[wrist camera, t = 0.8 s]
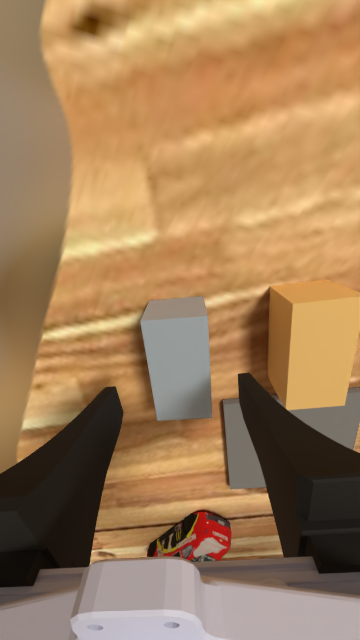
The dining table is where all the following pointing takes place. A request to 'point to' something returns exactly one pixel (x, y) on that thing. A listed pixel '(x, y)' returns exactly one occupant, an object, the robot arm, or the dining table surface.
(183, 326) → the slate brick
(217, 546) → the race car
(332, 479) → the robot arm
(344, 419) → the mat
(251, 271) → the dining table surface
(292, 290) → the ochre brick
